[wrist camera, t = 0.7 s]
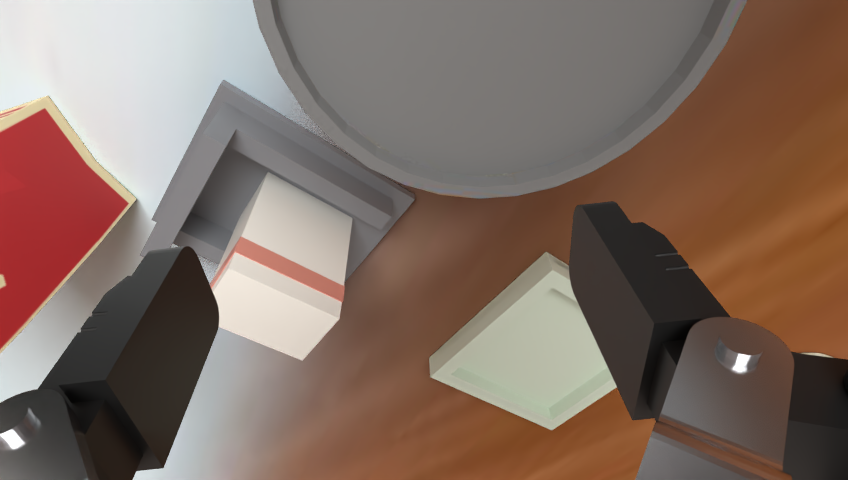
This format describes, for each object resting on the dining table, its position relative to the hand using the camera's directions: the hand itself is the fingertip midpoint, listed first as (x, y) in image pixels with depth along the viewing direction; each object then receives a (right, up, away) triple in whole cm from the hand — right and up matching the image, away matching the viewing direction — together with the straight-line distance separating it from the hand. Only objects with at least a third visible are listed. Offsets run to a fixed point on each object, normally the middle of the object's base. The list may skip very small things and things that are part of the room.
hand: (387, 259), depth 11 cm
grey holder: (-8, +3, +22) cm, 24 cm away
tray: (+11, -8, +32) cm, 34 cm away
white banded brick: (-7, +2, +22) cm, 24 cm away
